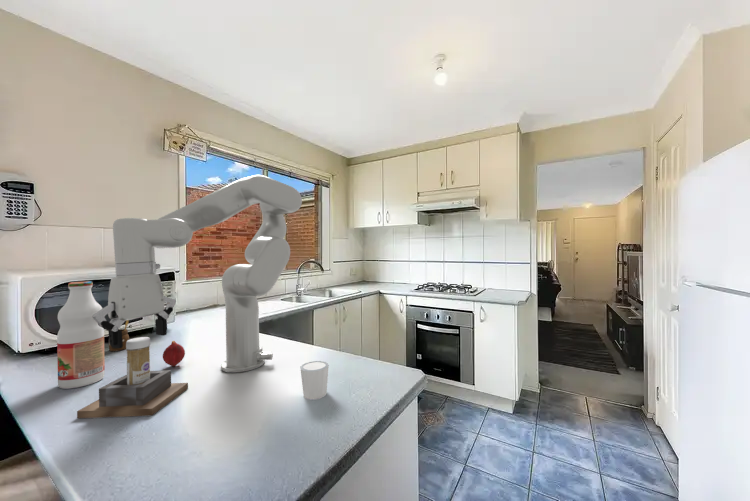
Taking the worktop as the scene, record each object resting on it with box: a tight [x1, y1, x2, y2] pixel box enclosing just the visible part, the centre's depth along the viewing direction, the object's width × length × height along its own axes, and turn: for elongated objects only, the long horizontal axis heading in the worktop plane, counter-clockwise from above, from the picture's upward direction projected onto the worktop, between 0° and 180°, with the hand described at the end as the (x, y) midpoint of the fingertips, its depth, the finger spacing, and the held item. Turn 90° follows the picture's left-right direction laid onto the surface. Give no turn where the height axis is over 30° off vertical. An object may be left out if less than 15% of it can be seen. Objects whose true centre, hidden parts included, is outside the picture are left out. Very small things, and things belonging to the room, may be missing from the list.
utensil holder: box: [108, 320, 130, 352], centre depth 114 cm, size 6×6×12 cm
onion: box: [162, 340, 186, 367], centre depth 94 cm, size 6×6×8 cm
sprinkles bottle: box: [125, 336, 151, 385], centre depth 72 cm, size 5×5×14 cm
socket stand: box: [76, 369, 189, 419], centre depth 72 cm, size 16×13×6 cm
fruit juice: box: [56, 280, 106, 390], centre depth 84 cm, size 9×9×28 cm
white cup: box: [300, 360, 330, 401], centre depth 74 cm, size 7×7×7 cm
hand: (140, 340), depth 72 cm, fingers open, 9 cm apart
